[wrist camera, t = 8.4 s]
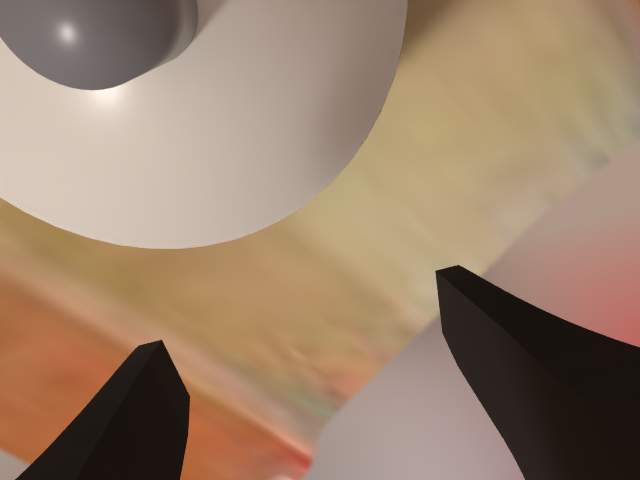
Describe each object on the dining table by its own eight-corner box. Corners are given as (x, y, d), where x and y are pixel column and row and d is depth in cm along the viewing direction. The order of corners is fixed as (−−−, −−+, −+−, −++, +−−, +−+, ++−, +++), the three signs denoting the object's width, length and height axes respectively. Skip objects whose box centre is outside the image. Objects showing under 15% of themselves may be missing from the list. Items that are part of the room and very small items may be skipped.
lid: (459, -283, 11) (635, -548, 6) (354, 252, 17) (393, 351, 12) (-275, -499, 8) (-1108, -1300, 3) (-82, 221, 15) (-263, 329, 10)
